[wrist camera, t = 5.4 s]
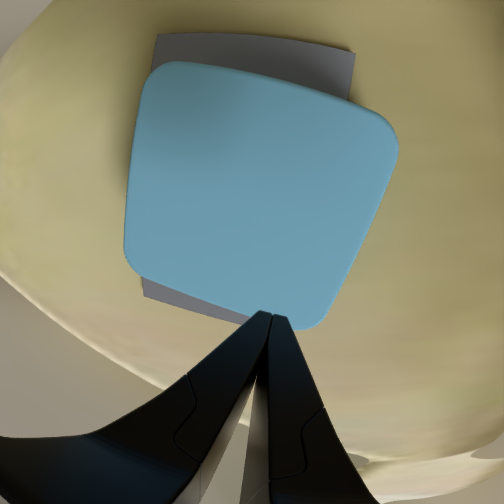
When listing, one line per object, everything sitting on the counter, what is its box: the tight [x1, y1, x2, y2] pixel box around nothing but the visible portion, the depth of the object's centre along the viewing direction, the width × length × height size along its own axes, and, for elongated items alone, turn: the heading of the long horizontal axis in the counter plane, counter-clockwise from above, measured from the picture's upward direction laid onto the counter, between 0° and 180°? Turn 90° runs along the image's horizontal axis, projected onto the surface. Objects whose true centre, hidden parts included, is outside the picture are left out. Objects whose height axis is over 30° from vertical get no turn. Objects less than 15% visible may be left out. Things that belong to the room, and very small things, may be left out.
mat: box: [142, 33, 356, 325], centre depth 18 cm, size 12×20×1 cm, turn 171°
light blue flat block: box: [124, 61, 399, 330], centre depth 15 cm, size 12×4×12 cm
